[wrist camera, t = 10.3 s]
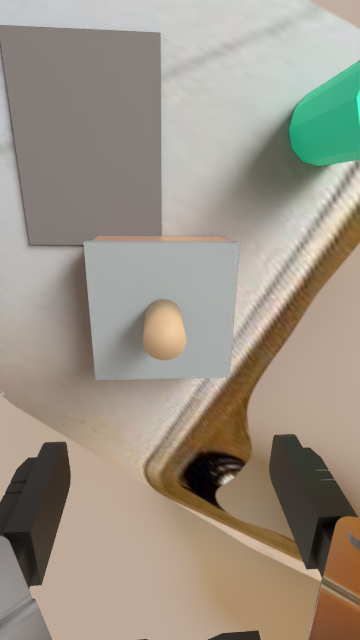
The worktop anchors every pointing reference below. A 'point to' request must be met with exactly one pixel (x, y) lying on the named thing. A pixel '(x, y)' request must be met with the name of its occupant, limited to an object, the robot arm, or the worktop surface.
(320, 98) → the candle
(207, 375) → the lid
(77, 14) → the worktop surface
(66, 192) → the mat
